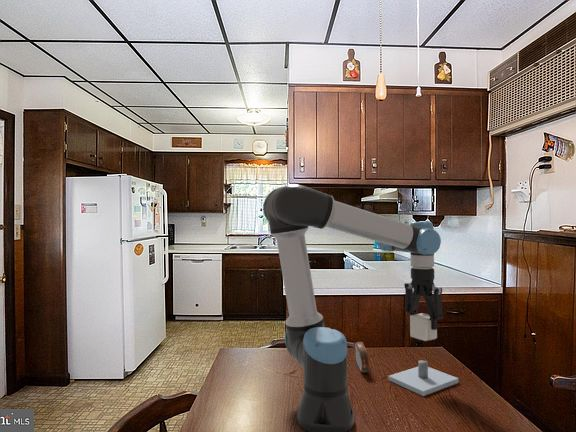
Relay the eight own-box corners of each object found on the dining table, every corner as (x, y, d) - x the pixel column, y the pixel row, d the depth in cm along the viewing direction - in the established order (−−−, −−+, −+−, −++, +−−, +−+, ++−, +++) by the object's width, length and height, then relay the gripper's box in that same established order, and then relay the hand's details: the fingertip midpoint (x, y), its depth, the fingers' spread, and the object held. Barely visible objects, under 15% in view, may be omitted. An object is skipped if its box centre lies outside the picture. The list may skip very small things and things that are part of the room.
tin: (369, 376, 131) (369, 352, 131) (360, 376, 131) (360, 351, 131) (362, 360, 146) (362, 338, 146) (354, 360, 146) (354, 338, 146)
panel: (423, 396, 116) (423, 374, 116) (388, 380, 127) (388, 360, 127) (458, 382, 125) (458, 363, 125) (423, 369, 137) (422, 351, 137)
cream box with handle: (425, 341, 122) (424, 318, 122) (410, 336, 127) (410, 314, 127) (436, 337, 125) (436, 315, 126) (421, 333, 131) (421, 312, 131)
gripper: (454, 269, 121) (455, 342, 120) (407, 264, 137) (408, 328, 136) (439, 271, 117) (441, 346, 116) (392, 265, 133) (393, 331, 132)
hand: (423, 336), depth 126 cm, fingers closed on cream box with handle, 6 cm apart
